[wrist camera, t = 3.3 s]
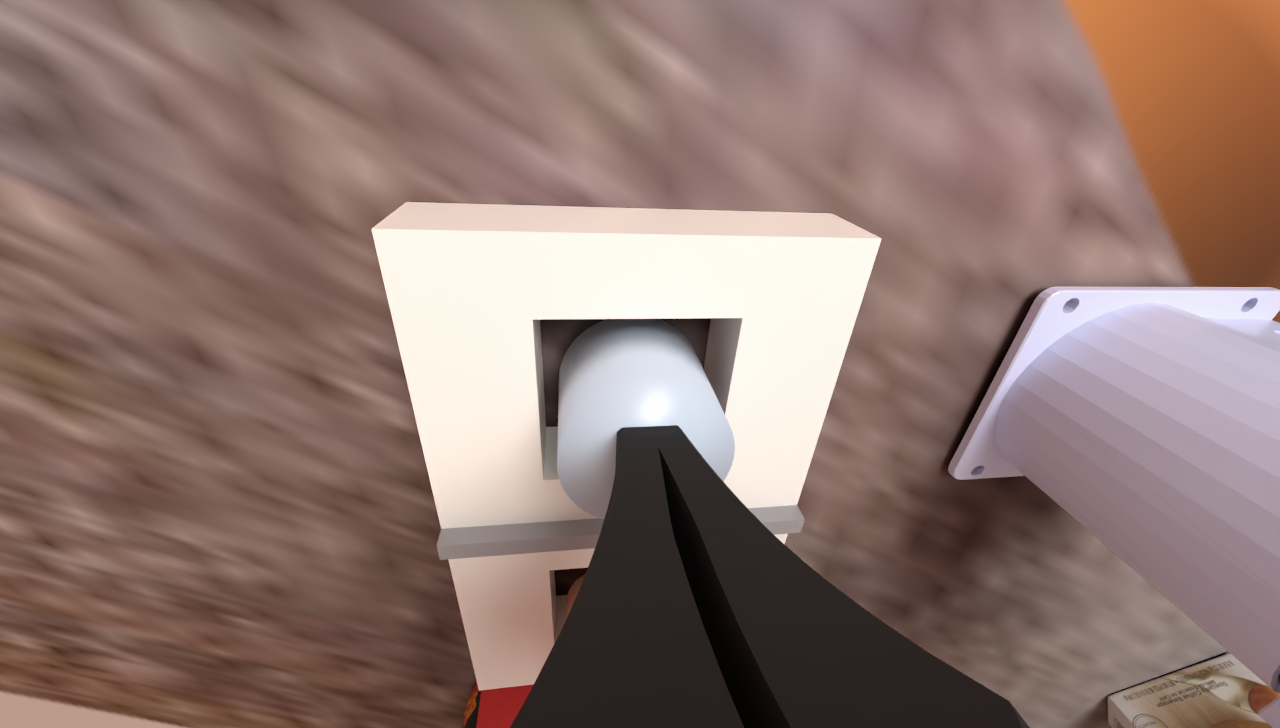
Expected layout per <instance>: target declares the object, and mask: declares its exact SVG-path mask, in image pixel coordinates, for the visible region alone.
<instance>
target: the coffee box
mask: <svg viewBox="0 0 1280 728" xmlns="http://www.w3.org/2000/svg"><path fill="white" fill-rule="evenodd" d="M1279 695H1280V693H1277V692H1275V691H1273V690H1272V689H1271V688H1270V687H1269V686H1268V685H1267V684H1265V683H1264V682H1263V681H1262V680H1261V679H1260V678H1258V677H1257V676H1256V675H1255V674H1254V673H1253V672H1251V671H1250V670H1249V669H1248V668H1247V667H1246V666H1245V665H1243V664H1242V663H1241V662H1240V661H1239V660H1238V659H1236V658H1235V657H1234V656H1233V655H1232V654H1231V653H1228V654H1225V655H1222V656H1220V657H1217V658H1214V659H1211V660H1208V661H1205V662H1202V663H1199V664H1197V665H1194V666H1191V667H1188V668H1185V669H1182V670H1179V671H1176V672H1174V673H1171V674H1168V675H1165V676H1162V677H1159V678H1157V679H1153V680H1150V681H1147V682H1145V683H1142V684H1139V685H1137V686H1134V687H1131V688H1128V689H1126V690H1123V691H1120V692H1117V693H1115V694H1112V695H1109V696H1108V723H1109V724H1110V726H1111V727H1112V728H1272V727H1271V726H1270V725H1269V724H1268V723H1267V722H1266V721H1265V720H1263V719H1262V718H1261V717H1260V716H1259V714H1258V711H1259V710H1261V709H1262V708H1264V707H1265V706H1267V705H1268V704H1269V703H1271V702H1272V701H1273V700H1274V699H1276V698H1277V697H1278V696H1279Z"/></svg>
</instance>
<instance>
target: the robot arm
mask: <svg viewBox="0 0 1280 728" xmlns="http://www.w3.org/2000/svg"><path fill="white" fill-rule="evenodd" d="M1279 310H1280V290H1278V289H1275V288H1271V287H1051V288H1048V289H1046V290H1044V291H1042V292H1041V293H1040V294H1039V295H1038V296H1037V297H1036V299H1035V300H1034V302H1033V304H1032V306H1031V308H1030V310H1029V312H1028V313H1027V315H1026V317H1025V319H1024V321H1023V323H1022V325H1021V327H1020V329H1019V331H1018V333H1017V335H1016V337H1015V339H1014V341H1013V342H1012V344H1011V346H1010V348H1009V350H1008V352H1007V354H1006V356H1005V358H1004V360H1003V362H1002V364H1001V366H1000V368H999V369H998V371H997V373H996V375H995V377H994V379H993V381H992V383H991V385H990V387H989V389H988V391H987V393H986V395H985V396H984V398H983V400H982V402H981V404H980V406H979V408H978V410H977V412H976V414H975V416H974V418H973V420H972V422H971V424H970V425H969V427H968V429H967V431H966V433H965V435H964V437H963V439H962V441H961V443H960V445H959V447H958V449H957V451H956V452H955V454H954V456H953V458H952V460H951V462H950V464H949V467H948V472H949V473H950V474H951V475H952V476H953V477H954V478H955V479H958V480H967V479H983V478H999V477H1015V476H1026V477H1027V478H1028V479H1029V480H1030V481H1032V482H1033V483H1034V484H1035V485H1036V486H1037V487H1038V488H1040V489H1041V490H1042V491H1043V492H1044V493H1045V494H1047V495H1048V496H1049V497H1050V498H1051V499H1052V500H1054V501H1055V502H1056V503H1057V504H1058V505H1059V506H1060V507H1062V508H1063V509H1064V510H1065V511H1066V512H1067V513H1069V514H1070V515H1071V516H1072V517H1073V518H1074V519H1076V520H1077V521H1078V522H1079V523H1080V524H1081V525H1082V526H1084V527H1085V528H1086V529H1087V530H1088V531H1089V532H1091V533H1092V534H1093V535H1094V536H1095V537H1096V538H1098V539H1099V540H1100V541H1101V542H1102V543H1103V544H1104V545H1106V546H1107V547H1108V548H1109V549H1110V550H1111V551H1113V552H1114V553H1115V554H1116V555H1117V556H1118V557H1119V558H1121V559H1122V560H1123V561H1124V562H1125V563H1126V564H1128V565H1129V566H1130V567H1131V568H1132V569H1133V570H1135V571H1136V572H1137V573H1138V574H1139V575H1140V576H1141V577H1143V578H1144V579H1145V580H1146V581H1147V582H1148V583H1150V584H1151V585H1152V586H1153V587H1154V588H1155V589H1157V590H1158V591H1159V592H1160V593H1161V594H1162V595H1163V596H1165V597H1166V598H1167V599H1168V600H1169V601H1170V602H1172V603H1173V604H1174V605H1175V606H1176V607H1177V608H1179V609H1180V610H1181V611H1182V612H1183V613H1184V614H1185V615H1187V616H1188V617H1189V618H1190V619H1191V620H1192V621H1194V622H1195V623H1196V624H1197V625H1198V626H1199V627H1201V628H1202V629H1203V630H1204V631H1205V632H1206V633H1207V634H1209V635H1210V636H1211V637H1212V638H1213V639H1214V640H1216V641H1217V642H1218V643H1219V644H1220V645H1221V646H1223V647H1224V648H1225V649H1226V650H1227V651H1228V652H1229V653H1231V654H1232V655H1233V656H1234V657H1235V658H1236V659H1238V660H1239V661H1240V662H1241V663H1242V664H1243V665H1245V666H1246V667H1247V668H1248V669H1249V670H1250V671H1251V672H1253V673H1254V674H1255V675H1256V676H1257V677H1258V678H1260V679H1261V680H1262V681H1263V682H1264V683H1265V684H1267V685H1268V686H1269V687H1270V688H1271V689H1272V690H1273V691H1275V692H1277V693H1280V323H1278V322H1274V321H1272V319H1273V318H1274V316H1275V315H1276V314H1277V313H1278V311H1279ZM1258 714H1259V716H1260V717H1261V718H1262V719H1263V720H1265V721H1266V722H1267V723H1268V724H1269V725H1270V726H1271V727H1272V728H1280V695H1279V696H1278V697H1277V698H1276V699H1274V700H1273V701H1272V702H1271V703H1269V704H1268V705H1267V706H1265V707H1264V708H1262V709H1261V710H1259V711H1258ZM510 728H1029V726H1028V725H1027V724H1026V722H1025V721H1024V720H1023V718H1022V717H1021V716H1020V714H1019V713H1018V712H1017V711H1016V709H1015V708H1014V707H1013V706H1012V704H1011V703H1010V702H1009V701H1008V700H1006V699H1004V698H1003V697H1001V696H999V695H998V694H996V693H994V692H993V691H991V690H989V689H988V688H986V687H984V686H983V685H981V684H979V683H978V682H976V681H974V680H973V679H971V678H970V677H968V676H966V675H965V674H963V673H961V672H960V671H958V670H956V669H955V668H953V667H951V666H950V665H948V664H946V663H945V662H943V661H941V660H940V659H938V658H936V657H935V656H933V655H931V654H930V653H928V652H927V651H925V650H924V649H922V648H921V647H919V646H918V645H916V644H915V643H913V642H912V641H910V640H909V639H907V638H906V637H904V636H903V635H901V634H900V633H898V632H897V631H895V630H894V629H892V628H891V627H889V626H888V625H886V624H885V623H883V622H882V621H880V620H879V619H878V618H876V617H875V616H873V615H872V614H871V613H869V612H868V611H866V610H865V609H864V608H862V607H861V606H860V605H858V604H857V603H856V602H854V601H853V600H852V599H850V598H849V597H848V596H847V595H845V594H844V593H843V592H841V591H840V590H839V589H837V588H836V587H835V586H833V585H832V584H831V583H829V582H828V581H827V580H825V579H824V578H823V577H822V576H820V575H819V574H818V573H817V572H815V571H814V570H813V569H812V568H811V567H809V566H808V565H807V564H806V563H805V562H804V561H802V560H801V559H800V558H799V557H798V556H797V555H796V554H794V553H793V552H792V551H791V550H790V549H789V548H788V547H787V546H785V545H784V544H783V543H782V542H781V541H780V540H779V539H778V538H777V537H776V536H775V535H774V534H773V533H772V532H771V531H770V530H769V529H767V528H766V527H765V526H764V525H763V524H762V523H761V522H760V521H759V519H758V518H757V517H756V516H755V515H754V514H753V513H752V512H751V511H750V510H749V509H748V508H747V507H746V506H745V505H744V504H743V503H742V502H741V501H740V500H739V499H738V498H737V496H736V495H735V494H734V493H733V492H732V491H731V490H730V489H729V487H728V486H727V485H726V484H725V483H724V482H723V481H722V479H721V478H720V477H719V476H718V475H717V474H716V472H715V471H714V470H713V469H712V468H711V466H710V465H709V464H708V463H707V462H706V460H705V459H704V458H703V457H702V455H701V454H700V453H699V452H698V450H697V449H696V448H695V446H694V445H693V444H692V443H691V441H690V440H689V439H688V437H687V436H686V435H685V433H684V432H683V431H682V429H681V428H680V427H679V426H678V425H672V426H649V427H623V428H621V429H620V430H619V431H617V441H616V467H615V478H614V483H613V487H612V492H611V497H610V501H609V505H608V508H607V512H606V515H605V518H604V522H603V525H602V529H601V532H600V535H599V538H598V541H597V544H596V547H595V550H594V553H593V556H592V558H591V561H590V564H589V566H588V569H587V571H586V574H585V577H584V579H583V582H582V584H581V586H580V589H579V591H578V593H577V596H576V598H575V600H574V603H573V605H572V607H571V610H570V612H569V614H568V617H567V619H566V621H565V623H564V625H563V627H562V630H561V632H560V634H559V636H558V638H557V640H556V642H555V644H554V646H553V648H552V650H551V652H550V654H549V656H548V658H547V660H546V661H545V663H544V665H543V667H542V669H541V671H540V673H539V675H538V677H537V679H536V681H535V683H534V685H533V687H532V689H531V691H530V693H529V694H528V696H527V698H526V700H525V702H524V704H523V705H522V707H521V709H520V710H519V712H518V714H517V716H516V717H515V719H514V721H513V723H512V724H511V726H510Z"/></svg>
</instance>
